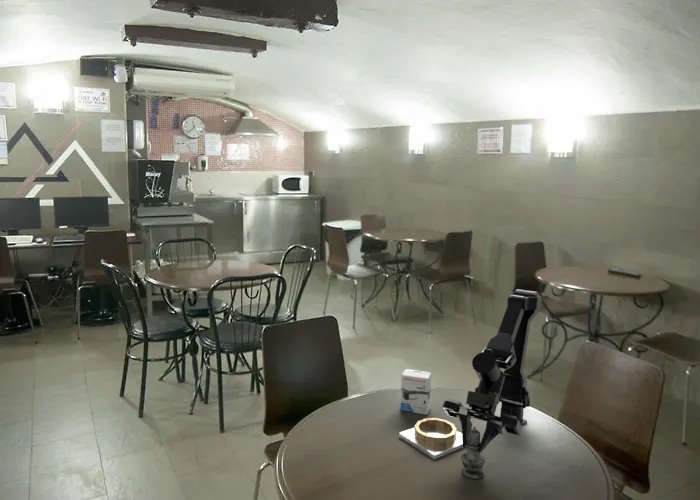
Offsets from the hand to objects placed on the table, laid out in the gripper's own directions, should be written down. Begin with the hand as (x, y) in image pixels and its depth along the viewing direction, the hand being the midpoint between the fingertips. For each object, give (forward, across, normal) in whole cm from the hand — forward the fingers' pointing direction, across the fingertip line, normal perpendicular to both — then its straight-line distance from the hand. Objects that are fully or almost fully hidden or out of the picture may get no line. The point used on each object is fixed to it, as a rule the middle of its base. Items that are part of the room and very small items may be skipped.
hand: (471, 449), depth 132 cm
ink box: (-12, -27, +23) cm, 38 cm away
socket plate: (-3, -14, +13) cm, 20 cm away
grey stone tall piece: (+4, 0, +6) cm, 7 cm away
